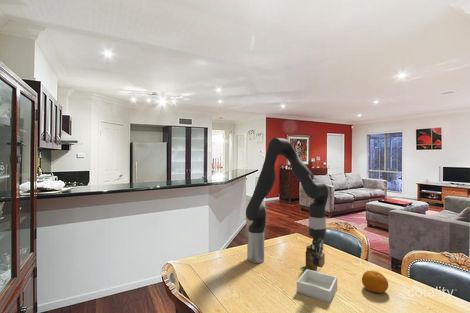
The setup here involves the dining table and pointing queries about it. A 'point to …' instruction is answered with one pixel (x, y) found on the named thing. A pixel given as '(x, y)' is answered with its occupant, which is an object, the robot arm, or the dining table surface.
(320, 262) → the walnut cube
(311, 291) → the tub
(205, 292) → the dining table surface
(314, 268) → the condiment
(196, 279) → the dining table surface
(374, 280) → the fruit
